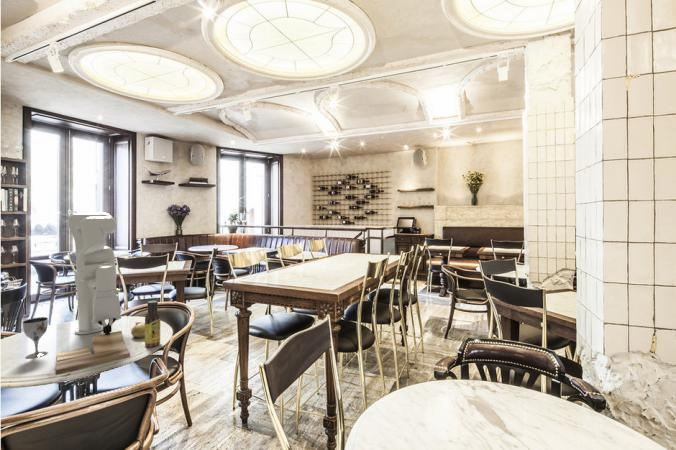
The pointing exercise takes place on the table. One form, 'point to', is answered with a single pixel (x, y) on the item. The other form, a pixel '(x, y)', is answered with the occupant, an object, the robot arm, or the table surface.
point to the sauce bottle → (152, 325)
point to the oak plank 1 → (73, 354)
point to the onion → (138, 330)
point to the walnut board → (91, 359)
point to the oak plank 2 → (107, 342)
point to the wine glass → (35, 333)
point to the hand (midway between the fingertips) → (107, 334)
